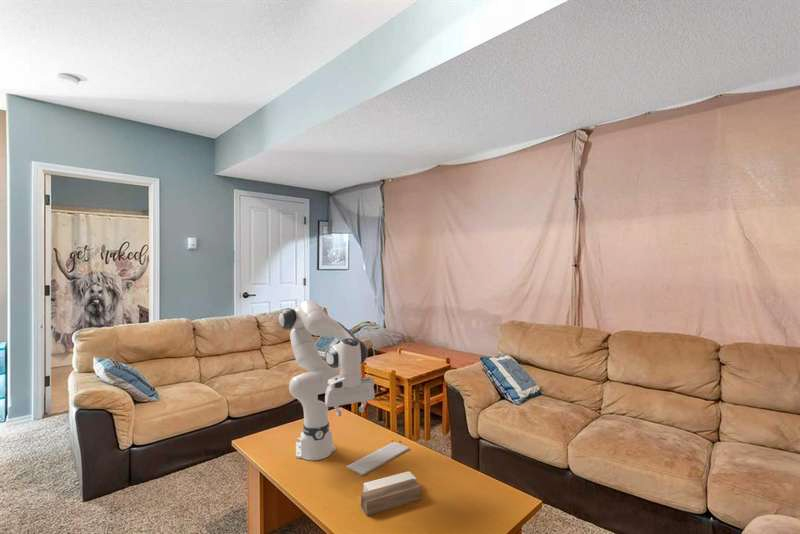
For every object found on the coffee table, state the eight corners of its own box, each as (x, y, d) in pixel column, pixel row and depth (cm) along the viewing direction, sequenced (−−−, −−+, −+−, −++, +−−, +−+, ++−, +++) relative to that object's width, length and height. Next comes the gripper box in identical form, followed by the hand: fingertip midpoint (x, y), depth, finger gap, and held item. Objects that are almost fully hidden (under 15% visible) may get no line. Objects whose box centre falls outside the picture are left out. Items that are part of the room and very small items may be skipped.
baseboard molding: (343, 467, 172) (361, 477, 164) (343, 461, 172) (361, 470, 164) (391, 443, 195) (409, 450, 187) (391, 437, 195) (409, 444, 187)
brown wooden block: (360, 506, 143) (360, 493, 143) (413, 491, 153) (413, 478, 153) (366, 516, 138) (366, 502, 138) (420, 499, 148) (420, 486, 148)
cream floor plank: (363, 495, 151) (363, 483, 150) (409, 483, 159) (409, 471, 159) (369, 504, 145) (369, 491, 145) (416, 490, 154) (416, 478, 154)
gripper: (371, 374, 164) (371, 406, 164) (323, 380, 155) (323, 415, 155) (377, 378, 159) (377, 411, 159) (328, 385, 150) (328, 421, 150)
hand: (350, 413), depth 157 cm, fingers open, 8 cm apart
